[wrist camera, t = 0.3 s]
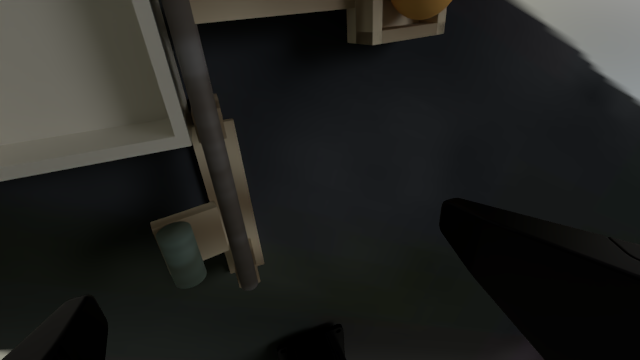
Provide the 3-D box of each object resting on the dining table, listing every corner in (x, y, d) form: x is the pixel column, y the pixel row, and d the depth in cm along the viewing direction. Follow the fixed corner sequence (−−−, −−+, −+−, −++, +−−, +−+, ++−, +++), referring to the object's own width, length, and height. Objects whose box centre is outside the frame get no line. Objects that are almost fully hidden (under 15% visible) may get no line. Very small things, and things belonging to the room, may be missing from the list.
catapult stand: (383, 225, 28) (404, 249, 25) (230, 270, 24) (234, 302, 22) (392, -45, 18) (427, -55, 15) (142, -32, 15) (129, -42, 12)
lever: (402, 207, 27) (425, 222, 25) (185, 306, 19) (194, 339, 17) (420, -72, 17) (459, -83, 15) (22, -84, 10) (1, -109, 8)
